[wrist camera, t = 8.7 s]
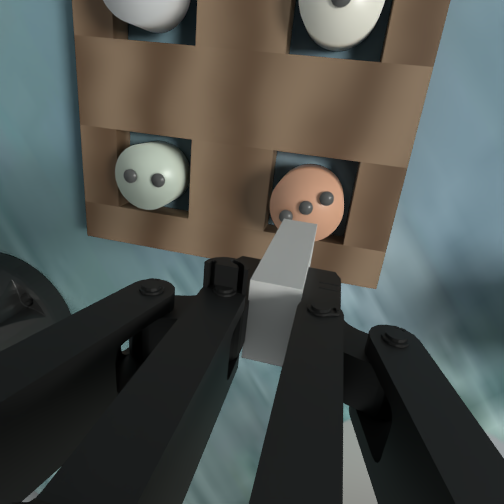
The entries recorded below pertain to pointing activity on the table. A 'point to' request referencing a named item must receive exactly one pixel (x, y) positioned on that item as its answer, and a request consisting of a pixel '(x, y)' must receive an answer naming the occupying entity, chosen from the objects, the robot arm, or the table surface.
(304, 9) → the button one
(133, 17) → the button blank
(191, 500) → the table surface
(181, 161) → the button two
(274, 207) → the button three
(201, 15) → the panel
